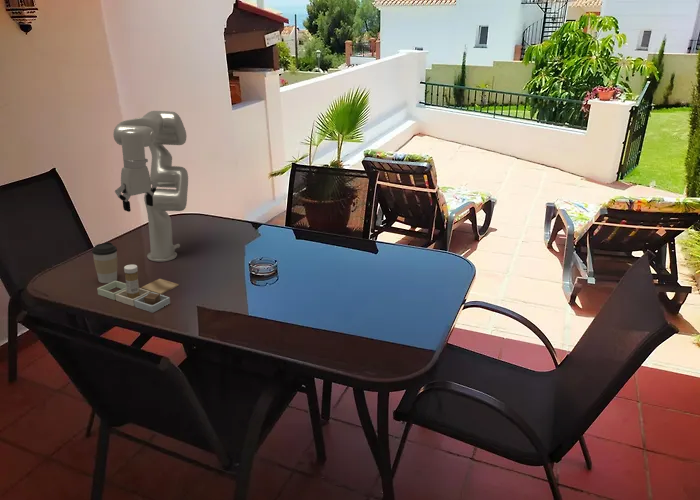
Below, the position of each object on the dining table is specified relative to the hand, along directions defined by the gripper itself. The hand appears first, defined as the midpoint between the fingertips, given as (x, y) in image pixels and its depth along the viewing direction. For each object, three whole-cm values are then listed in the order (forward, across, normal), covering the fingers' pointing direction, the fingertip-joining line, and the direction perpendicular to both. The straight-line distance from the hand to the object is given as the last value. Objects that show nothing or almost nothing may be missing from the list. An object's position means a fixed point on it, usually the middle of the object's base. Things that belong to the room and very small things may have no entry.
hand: (138, 208), depth 196 cm
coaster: (+32, -2, +7) cm, 33 cm away
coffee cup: (+32, +7, -14) cm, 36 cm away
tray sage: (+32, +12, -1) cm, 34 cm away
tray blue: (+32, +10, +18) cm, 37 cm away
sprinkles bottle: (+32, +11, +8) cm, 35 cm away
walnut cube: (+32, +10, +18) cm, 38 cm away
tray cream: (+32, +11, +8) cm, 35 cm away
